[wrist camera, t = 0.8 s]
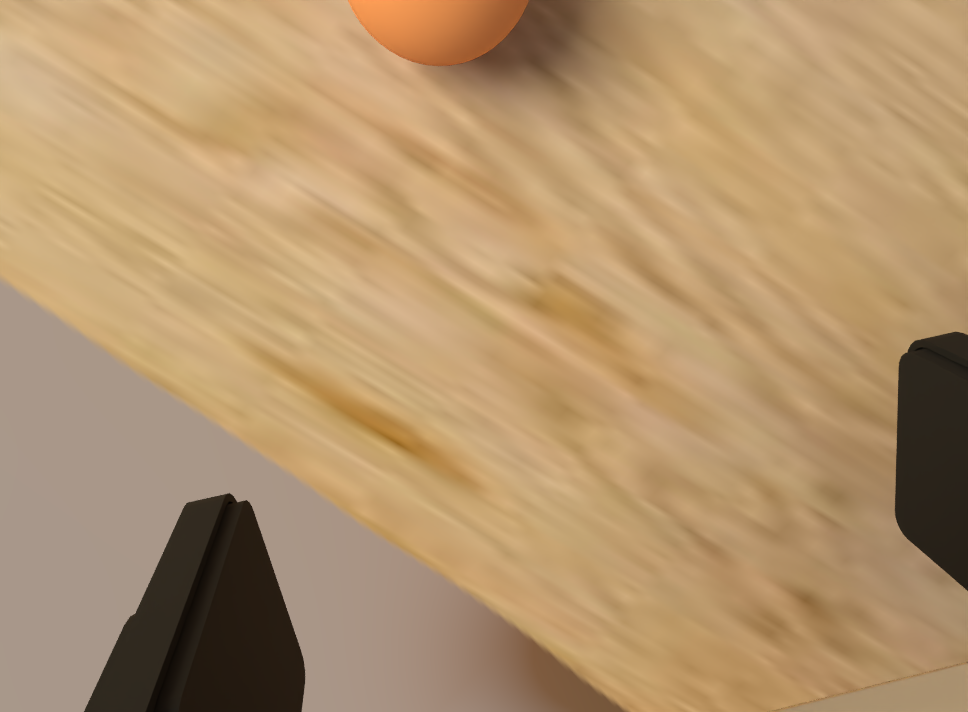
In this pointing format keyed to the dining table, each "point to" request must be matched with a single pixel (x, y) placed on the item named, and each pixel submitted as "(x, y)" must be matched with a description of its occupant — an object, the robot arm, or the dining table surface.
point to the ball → (439, 27)
